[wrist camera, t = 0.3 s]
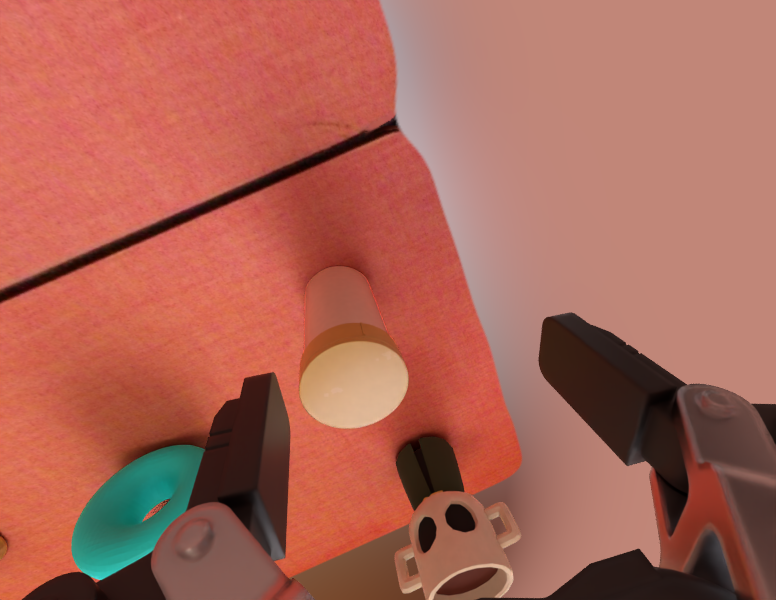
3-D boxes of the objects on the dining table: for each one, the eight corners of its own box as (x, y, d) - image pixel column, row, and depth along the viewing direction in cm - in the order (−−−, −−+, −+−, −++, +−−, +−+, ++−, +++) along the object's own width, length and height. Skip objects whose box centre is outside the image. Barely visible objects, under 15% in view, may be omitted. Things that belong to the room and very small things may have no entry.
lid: (306, 316, 19) (306, 335, 17) (411, 325, 21) (420, 343, 19) (294, 404, 21) (293, 428, 20) (389, 406, 23) (396, 429, 21)
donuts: (223, 424, 32) (192, 538, 23) (259, 494, 37) (245, 611, 28) (104, 455, 31) (26, 587, 22) (157, 523, 36) (110, 654, 27)
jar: (308, 261, 27) (310, 335, 18) (378, 270, 29) (412, 343, 19) (300, 323, 29) (297, 418, 20) (365, 329, 31) (391, 420, 22)
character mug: (458, 410, 37) (526, 539, 26) (478, 451, 41) (544, 580, 29) (363, 456, 38) (388, 604, 26) (390, 493, 41) (423, 638, 30)
